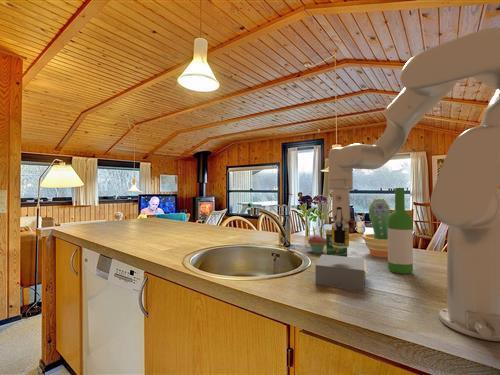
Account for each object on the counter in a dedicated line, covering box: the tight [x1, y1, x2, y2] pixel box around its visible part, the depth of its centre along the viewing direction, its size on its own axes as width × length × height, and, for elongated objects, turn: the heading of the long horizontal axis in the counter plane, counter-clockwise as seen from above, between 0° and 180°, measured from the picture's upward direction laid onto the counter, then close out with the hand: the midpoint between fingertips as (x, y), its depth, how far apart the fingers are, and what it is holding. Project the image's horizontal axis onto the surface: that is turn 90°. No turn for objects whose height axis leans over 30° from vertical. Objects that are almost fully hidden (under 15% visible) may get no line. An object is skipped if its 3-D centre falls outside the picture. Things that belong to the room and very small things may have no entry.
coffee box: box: [325, 229, 348, 257], centre depth 106 cm, size 8×3×13 cm, turn 63°
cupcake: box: [307, 226, 326, 254], centre depth 125 cm, size 9×8×12 cm
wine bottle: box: [387, 187, 414, 275], centre depth 95 cm, size 8×8×30 cm
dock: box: [314, 254, 367, 292], centre depth 86 cm, size 14×14×6 cm
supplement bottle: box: [331, 217, 350, 249], centre depth 87 cm, size 5×5×10 cm
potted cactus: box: [361, 198, 391, 258], centre depth 119 cm, size 16×15×25 cm
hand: (340, 240), depth 87 cm, fingers closed on supplement bottle, 5 cm apart
